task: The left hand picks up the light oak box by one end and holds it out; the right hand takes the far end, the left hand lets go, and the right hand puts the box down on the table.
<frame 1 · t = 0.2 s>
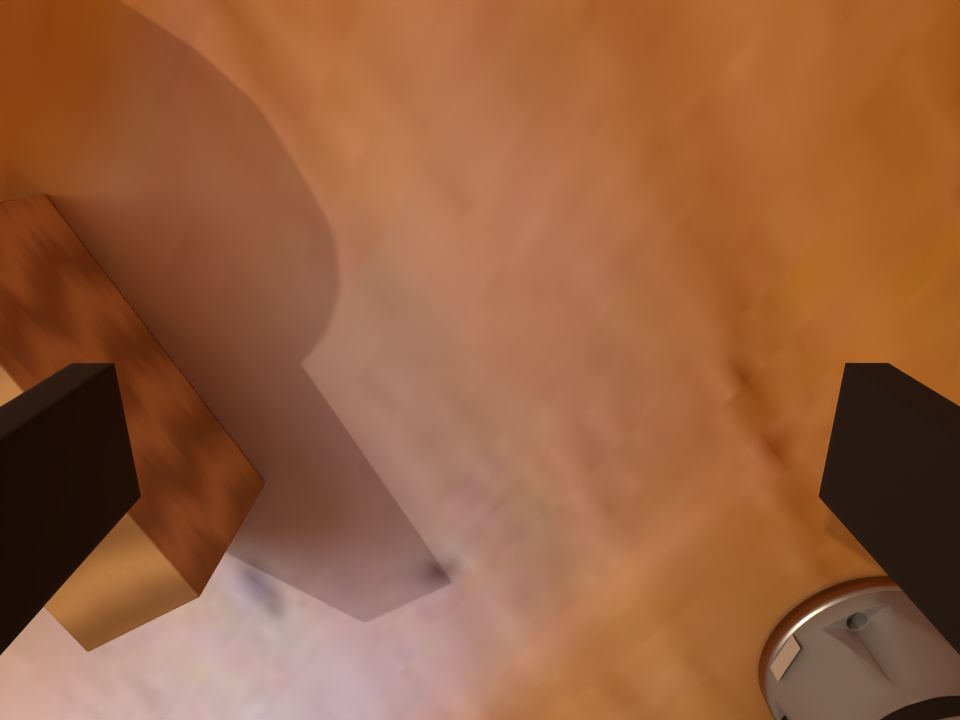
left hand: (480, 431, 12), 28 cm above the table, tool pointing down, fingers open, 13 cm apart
box: (117, 376, 42), on the table
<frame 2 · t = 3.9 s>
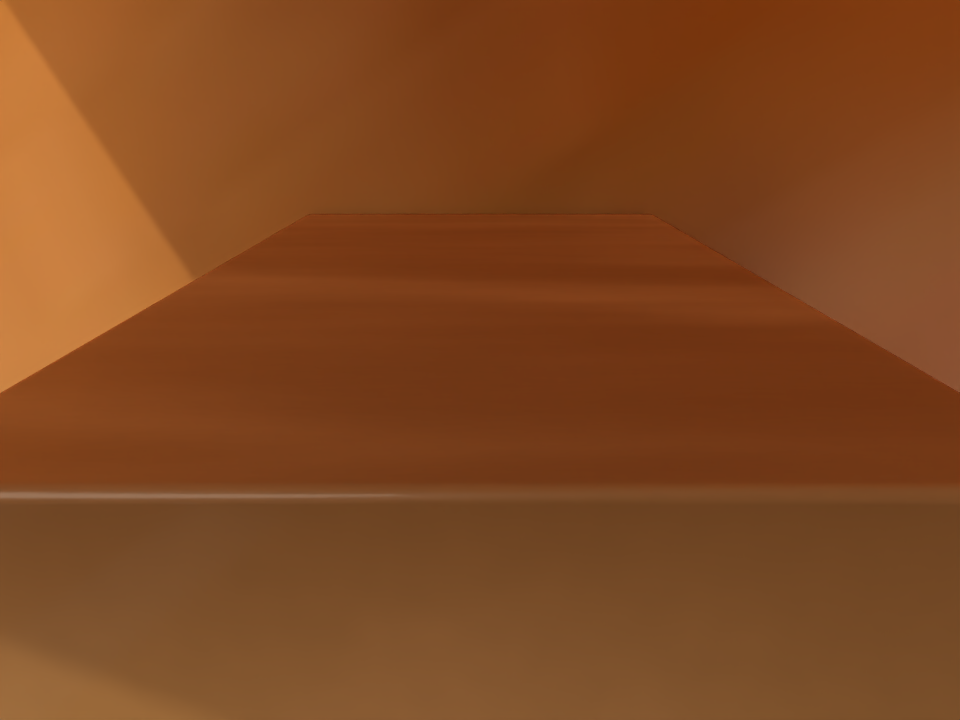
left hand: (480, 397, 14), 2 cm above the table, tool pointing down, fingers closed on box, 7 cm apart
box: (480, 621, 18), on the table, touching left hand
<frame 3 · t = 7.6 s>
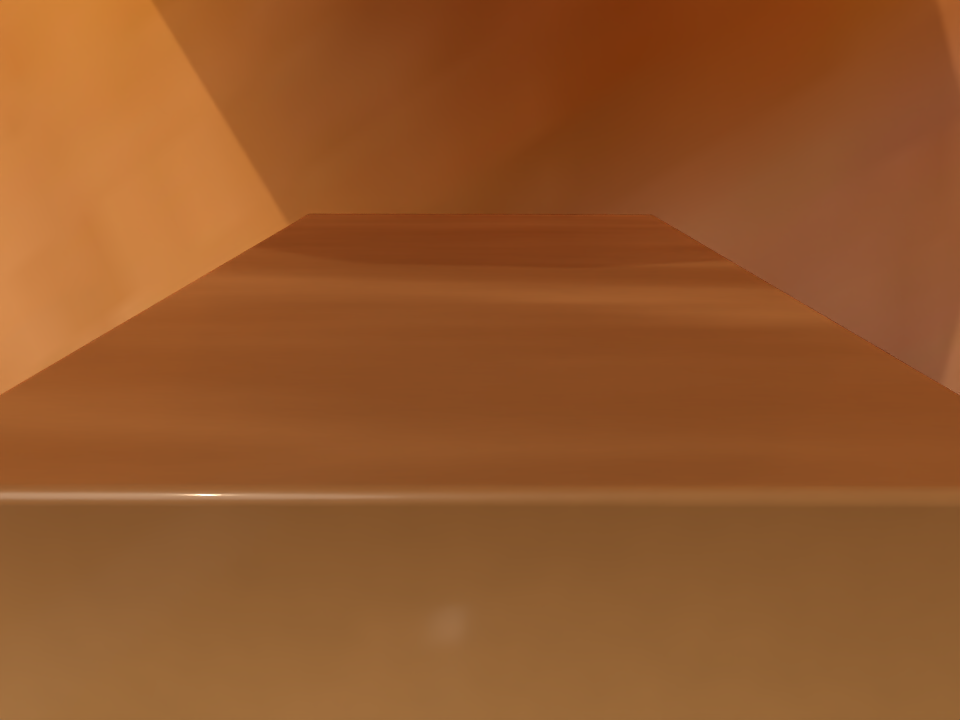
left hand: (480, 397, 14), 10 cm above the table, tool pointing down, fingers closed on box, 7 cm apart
box: (479, 620, 18), point 8 cm above the table, touching left hand, right hand
when the left hand's fingers open (10 cm above the table, at t = 8.4 s): box stays where it is, held by the right hand.
when the right hand's fingers open (3 cm above the table, at t = 16.4 s): box drops 1 cm, on the table.
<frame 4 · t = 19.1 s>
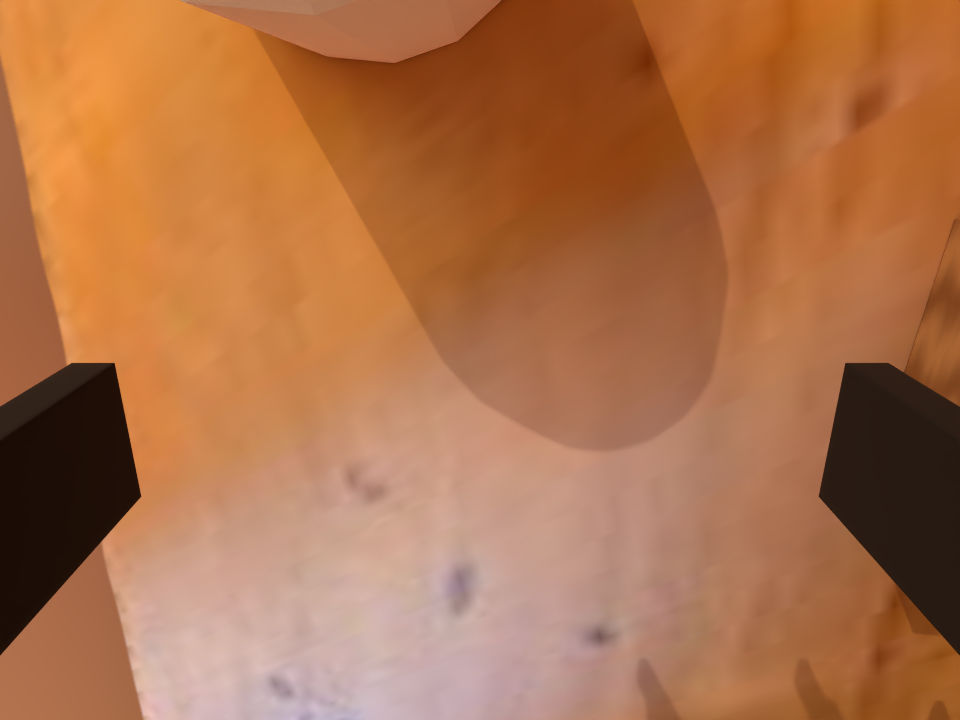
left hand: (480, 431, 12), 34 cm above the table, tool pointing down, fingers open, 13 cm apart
box: (954, 374, 48), on the table
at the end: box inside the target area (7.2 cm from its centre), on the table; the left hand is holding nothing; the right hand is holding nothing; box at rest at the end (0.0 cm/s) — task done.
